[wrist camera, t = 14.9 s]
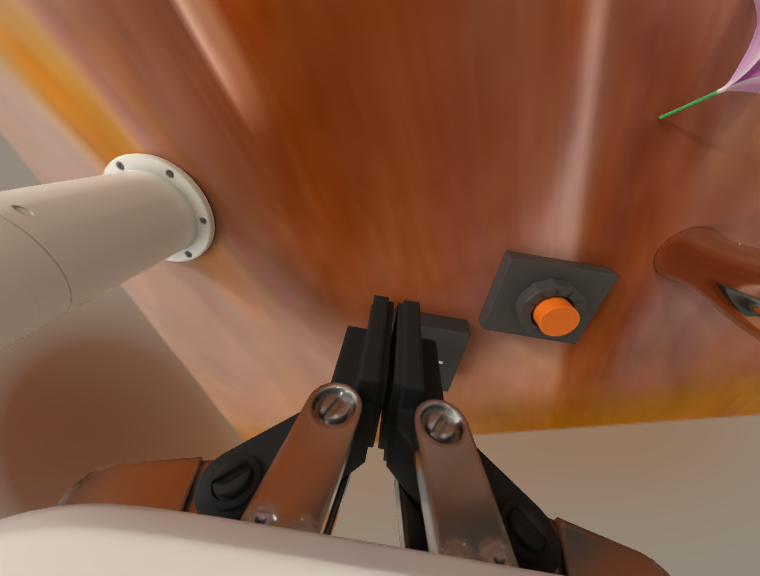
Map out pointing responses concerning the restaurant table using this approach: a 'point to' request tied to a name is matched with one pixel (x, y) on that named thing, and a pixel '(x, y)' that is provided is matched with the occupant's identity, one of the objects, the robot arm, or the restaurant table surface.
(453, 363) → the panel
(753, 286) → the beer glass
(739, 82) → the lily
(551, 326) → the power button
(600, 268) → the power block
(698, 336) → the restaurant table surface
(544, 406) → the restaurant table surface
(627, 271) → the restaurant table surface
